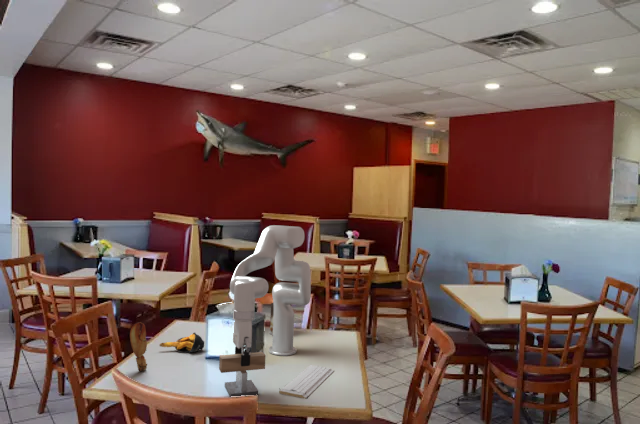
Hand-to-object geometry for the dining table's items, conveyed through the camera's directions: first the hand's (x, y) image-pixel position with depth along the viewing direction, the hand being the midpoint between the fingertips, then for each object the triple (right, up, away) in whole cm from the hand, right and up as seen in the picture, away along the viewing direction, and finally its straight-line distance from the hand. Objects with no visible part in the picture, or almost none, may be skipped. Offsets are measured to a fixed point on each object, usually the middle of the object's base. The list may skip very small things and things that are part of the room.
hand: (242, 361), depth 184 cm
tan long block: (0, -3, 0) cm, 3 cm away
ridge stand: (0, -11, 0) cm, 11 cm away
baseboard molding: (+24, -12, +12) cm, 30 cm away
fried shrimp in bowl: (-33, -8, +42) cm, 54 cm away
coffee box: (+8, -9, +75) cm, 76 cm away
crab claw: (-43, -9, +15) cm, 46 cm away
